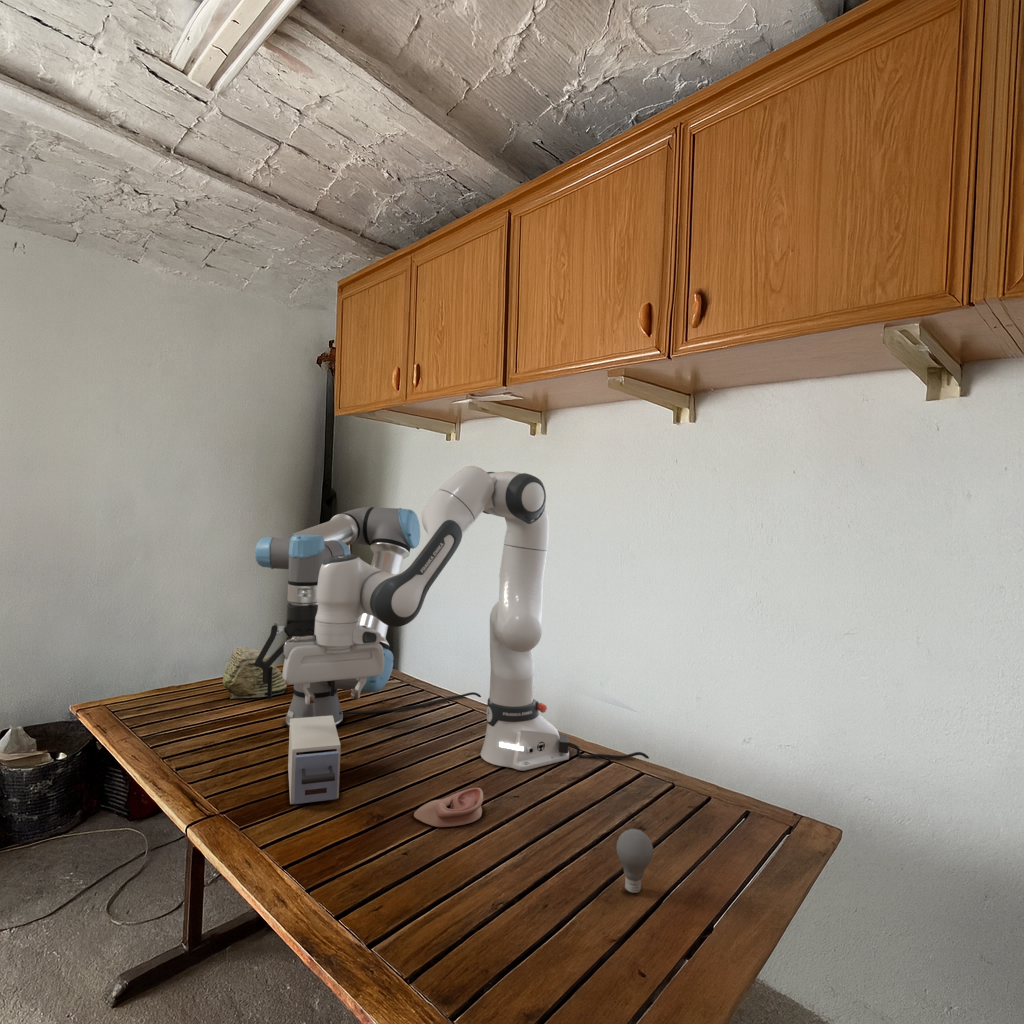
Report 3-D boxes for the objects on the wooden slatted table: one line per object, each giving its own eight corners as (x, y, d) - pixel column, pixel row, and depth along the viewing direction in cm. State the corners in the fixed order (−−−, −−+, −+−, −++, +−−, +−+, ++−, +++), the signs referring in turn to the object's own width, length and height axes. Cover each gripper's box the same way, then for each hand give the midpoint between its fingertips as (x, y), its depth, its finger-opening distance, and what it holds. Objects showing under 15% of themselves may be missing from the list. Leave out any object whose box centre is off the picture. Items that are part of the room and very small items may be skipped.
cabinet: (338, 798, 133) (340, 744, 133) (290, 804, 130) (292, 749, 130) (330, 762, 151) (332, 715, 150) (288, 767, 147) (289, 718, 147)
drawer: (339, 811, 126) (341, 763, 126) (294, 817, 123) (296, 768, 123) (329, 764, 147) (331, 723, 147) (291, 768, 144) (292, 727, 144)
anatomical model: (408, 802, 124) (427, 778, 135) (407, 822, 124) (427, 796, 136) (473, 812, 122) (488, 786, 133) (473, 832, 122) (487, 805, 133)
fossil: (218, 695, 195) (220, 647, 195) (278, 685, 208) (279, 640, 207) (228, 703, 189) (230, 653, 188) (289, 692, 201) (290, 645, 201)
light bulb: (610, 879, 108) (613, 822, 108) (644, 879, 109) (647, 822, 109) (619, 902, 102) (622, 840, 102) (655, 901, 103) (658, 840, 103)
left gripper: (243, 606, 136) (240, 703, 137) (362, 605, 143) (358, 698, 144) (247, 600, 143) (244, 693, 144) (360, 599, 151) (356, 688, 151)
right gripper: (287, 640, 122) (283, 711, 122) (388, 634, 133) (384, 699, 133) (280, 633, 127) (276, 702, 127) (378, 628, 138) (374, 691, 138)
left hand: (301, 695), depth 144 cm, fingers open, 13 cm apart
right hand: (332, 700), depth 130 cm, fingers open, 8 cm apart
